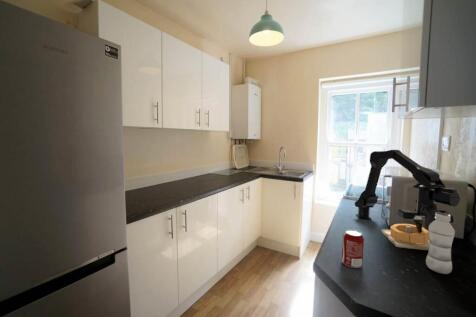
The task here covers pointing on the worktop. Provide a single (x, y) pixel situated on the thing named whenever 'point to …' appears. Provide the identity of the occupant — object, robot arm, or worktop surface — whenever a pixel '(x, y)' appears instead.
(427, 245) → the hook stand
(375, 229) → the worktop surface
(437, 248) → the plastic bottle
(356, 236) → the soda can
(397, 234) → the orange octagonal ring
